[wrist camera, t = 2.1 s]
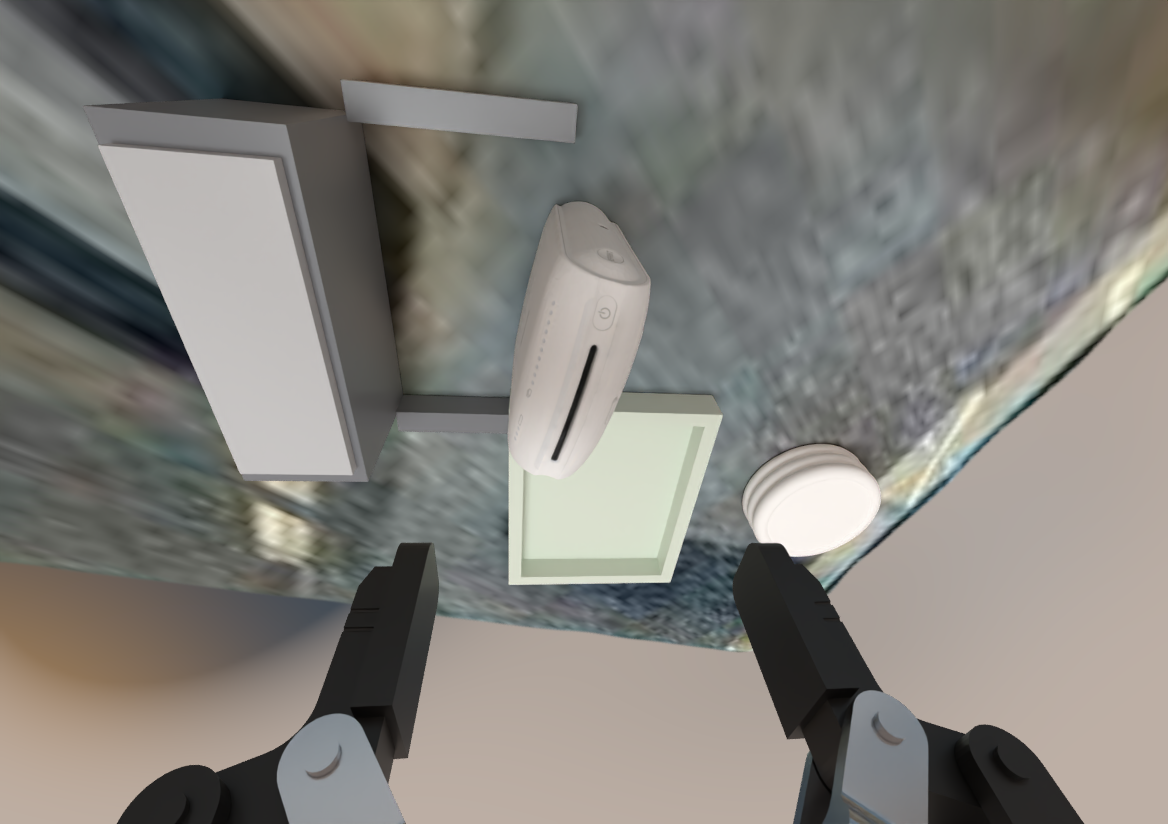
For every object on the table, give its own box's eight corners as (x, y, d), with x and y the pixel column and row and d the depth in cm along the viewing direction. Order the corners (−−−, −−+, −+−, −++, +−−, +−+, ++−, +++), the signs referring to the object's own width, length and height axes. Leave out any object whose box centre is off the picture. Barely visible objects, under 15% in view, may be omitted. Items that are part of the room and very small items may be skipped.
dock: (211, 64, 21) (43, 55, 14) (574, 103, 22) (591, 112, 15) (311, 410, 31) (246, 506, 24) (553, 417, 33) (558, 507, 26)
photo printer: (549, 187, 25) (557, 260, 14) (625, 211, 26) (683, 295, 15) (507, 355, 30) (492, 494, 20) (572, 370, 31) (588, 509, 21)
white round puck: (882, 475, 40) (908, 506, 37) (787, 541, 44) (805, 573, 41) (813, 420, 35) (837, 449, 33) (715, 498, 39) (730, 531, 37)
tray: (510, 388, 31) (508, 408, 29) (712, 395, 33) (723, 414, 31) (510, 561, 42) (508, 584, 40) (664, 559, 43) (670, 582, 41)
